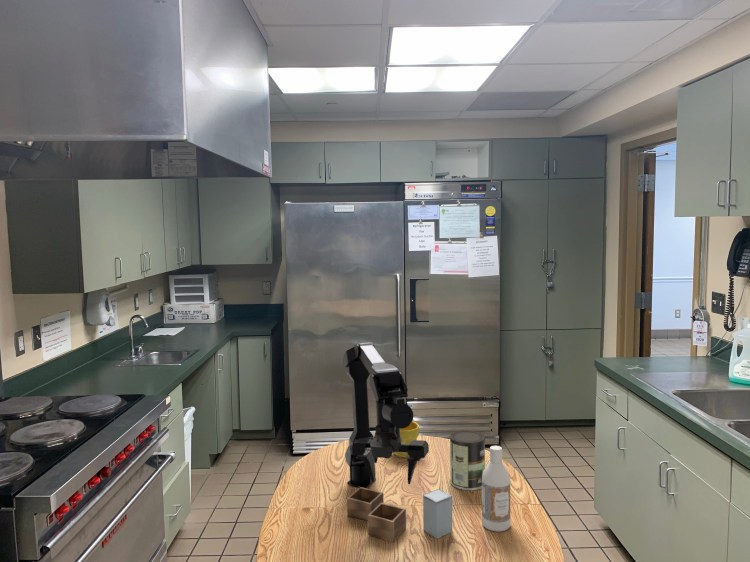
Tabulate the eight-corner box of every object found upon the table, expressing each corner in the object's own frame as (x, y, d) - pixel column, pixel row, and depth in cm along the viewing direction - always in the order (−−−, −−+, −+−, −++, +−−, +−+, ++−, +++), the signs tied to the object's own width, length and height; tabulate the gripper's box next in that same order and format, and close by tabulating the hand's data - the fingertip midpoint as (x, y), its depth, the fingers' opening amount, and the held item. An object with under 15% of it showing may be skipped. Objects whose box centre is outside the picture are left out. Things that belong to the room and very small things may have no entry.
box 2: (368, 534, 130) (367, 515, 129) (381, 521, 136) (381, 502, 135) (393, 542, 126) (393, 522, 126) (406, 528, 132) (405, 508, 132)
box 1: (347, 516, 138) (347, 498, 138) (360, 504, 144) (360, 486, 144) (370, 523, 135) (370, 504, 134) (383, 510, 141) (383, 492, 141)
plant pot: (425, 452, 179) (425, 424, 178) (405, 462, 171) (405, 432, 170) (402, 444, 186) (402, 417, 185) (382, 453, 178) (381, 425, 177)
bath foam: (489, 534, 129) (489, 454, 127) (477, 519, 136) (477, 443, 134) (515, 530, 130) (515, 451, 129) (502, 516, 137) (502, 441, 136)
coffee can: (485, 476, 160) (485, 430, 159) (485, 492, 150) (485, 443, 149) (450, 473, 162) (450, 428, 161) (448, 489, 152) (448, 441, 151)
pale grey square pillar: (423, 529, 131) (423, 494, 131) (439, 523, 134) (438, 488, 134) (436, 538, 127) (436, 502, 127) (452, 531, 130) (452, 496, 130)
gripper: (341, 426, 127) (344, 492, 126) (417, 428, 121) (420, 497, 121) (357, 415, 137) (360, 476, 137) (427, 417, 132) (430, 480, 131)
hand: (391, 482), depth 131 cm, fingers open, 9 cm apart
